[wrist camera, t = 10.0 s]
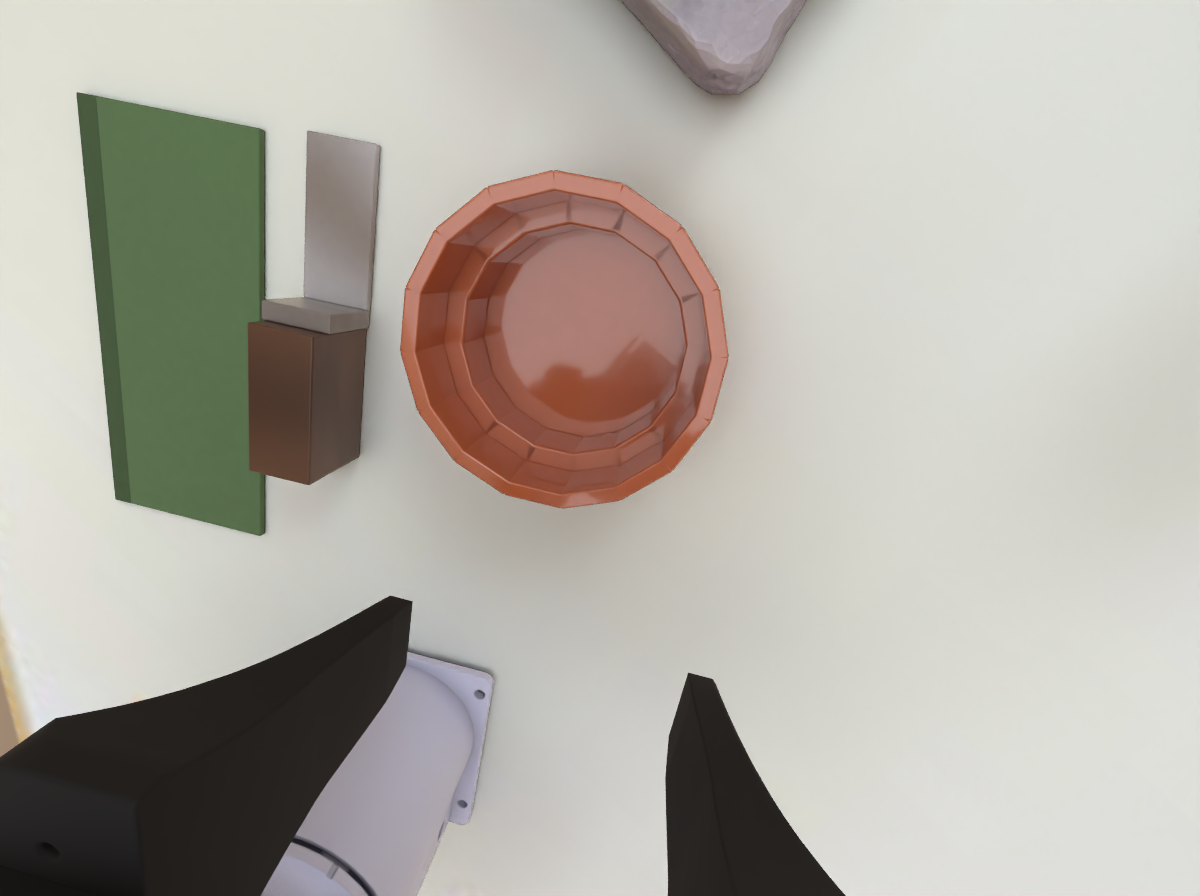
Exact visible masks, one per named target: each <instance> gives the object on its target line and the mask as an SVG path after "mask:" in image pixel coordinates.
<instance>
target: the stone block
mask: <svg viewBox="0 0 1200 896" xmlns="http://www.w3.org/2000/svg"><path fill="white" fill-rule="evenodd" d="M621 1H622V2H623V3H624V4H625V6H626V7H627V8H628V9H629V10H630V11H631V12H632V13H633V14H634V15H635V16H636V17H637V18H638V19H639V20H640V21H641V23H642V24H643V25H644V26H645V27H646V28H647V30H648V31H649V32H650V33H651V34H652V36H653V37H654V38H655V39H656V40H657V41H658V43H659V44H660V45H661V46H662V47H663V48H664V49H665V50H666V51H667V52H668V53H669V55H670V56H671V57H672V58H673V60H674V61H675V62H676V63H677V64H678V65H679V67H680V68H681V69H682V70H683V71H684V72H685V73H686V74H687V75H688V76H689V78H690V79H691V80H692V81H693V82H694V83H695V84H696V85H698V86H699V87H701V88H702V89H704V90H705V91H707V92H708V93H710V94H739V93H741V92H742V91H744V90H746V89H747V88H749V87H750V86H752V85H754V84H755V83H757V82H758V81H759V80H760V78H761V77H762V75H763V74H764V72H765V71H766V69H767V68H768V67H769V65H770V64H771V62H772V60H773V57H774V55H775V52H776V50H777V48H778V47H779V45H780V44H781V42H782V40H783V38H784V36H785V34H786V33H787V31H788V30H789V28H790V27H791V25H792V24H793V22H794V20H795V19H796V17H797V15H798V14H799V12H800V10H801V8H802V7H803V5H804V3H805V2H806V0H621Z"/></svg>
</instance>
